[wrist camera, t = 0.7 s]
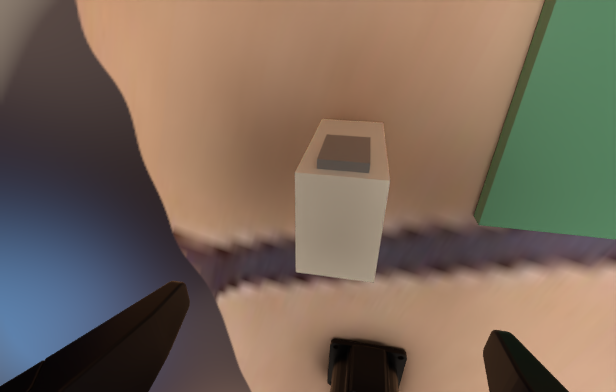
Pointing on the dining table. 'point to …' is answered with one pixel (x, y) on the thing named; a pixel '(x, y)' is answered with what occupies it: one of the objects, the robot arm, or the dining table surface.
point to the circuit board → (560, 129)
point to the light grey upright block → (341, 200)
